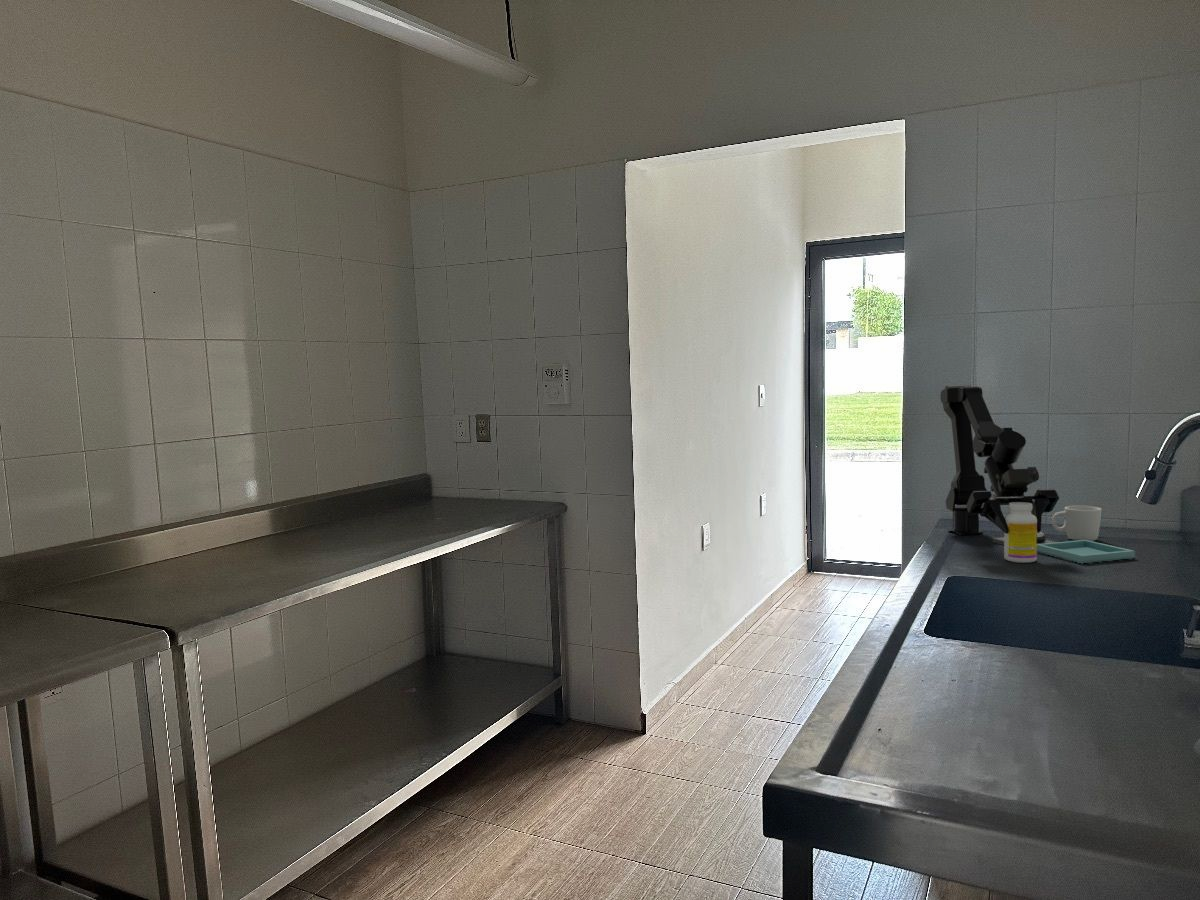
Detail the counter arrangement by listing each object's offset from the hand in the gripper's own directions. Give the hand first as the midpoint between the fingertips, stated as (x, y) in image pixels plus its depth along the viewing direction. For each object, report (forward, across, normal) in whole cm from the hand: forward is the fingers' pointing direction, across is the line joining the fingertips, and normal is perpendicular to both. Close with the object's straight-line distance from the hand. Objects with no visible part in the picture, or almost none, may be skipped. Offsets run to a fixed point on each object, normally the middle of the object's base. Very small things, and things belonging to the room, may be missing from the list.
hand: (1023, 532), depth 189 cm
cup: (-11, +23, +21) cm, 33 cm away
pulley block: (-8, +9, +17) cm, 21 cm away
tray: (+1, +16, +8) cm, 18 cm away
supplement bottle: (+4, 0, +6) cm, 7 cm away
